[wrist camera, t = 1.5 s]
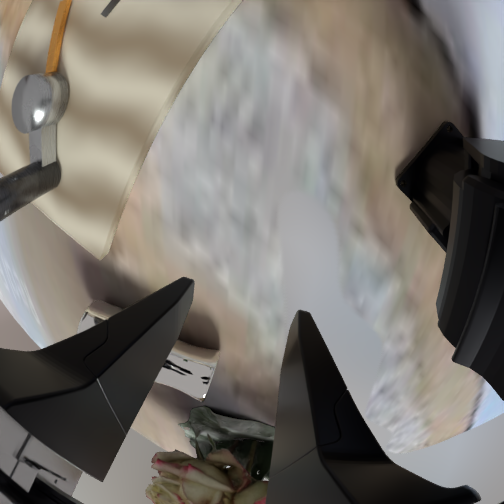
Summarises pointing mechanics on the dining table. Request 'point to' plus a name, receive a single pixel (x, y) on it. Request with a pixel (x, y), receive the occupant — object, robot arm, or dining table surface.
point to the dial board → (105, 98)
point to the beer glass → (178, 362)
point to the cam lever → (38, 126)
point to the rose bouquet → (215, 463)
